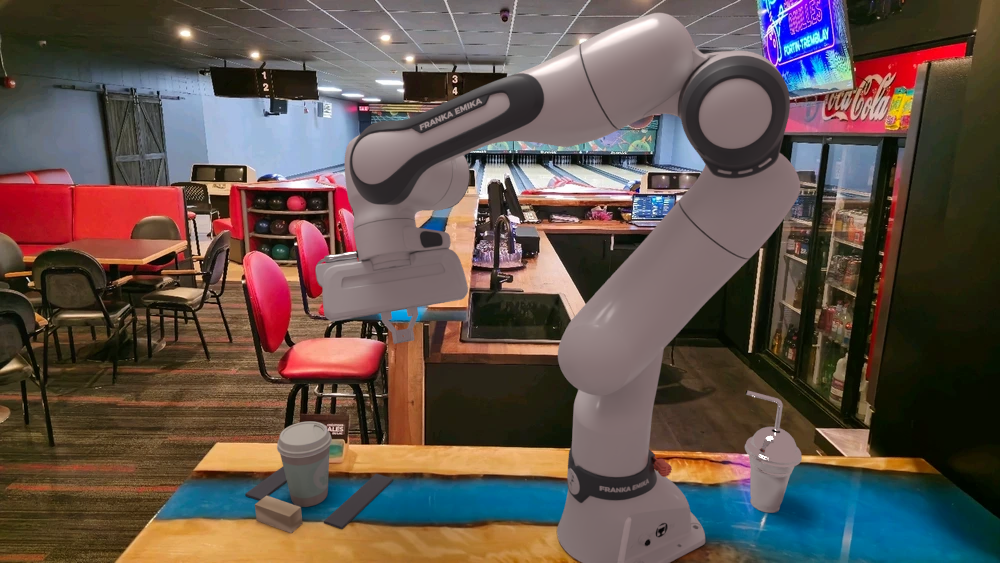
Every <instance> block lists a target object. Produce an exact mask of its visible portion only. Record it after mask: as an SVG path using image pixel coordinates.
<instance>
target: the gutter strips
mask: <svg viewBox="0 0 1000 563" xmlns="http://www.w3.org/2000/svg"><path fill="white" fill-rule="evenodd" d="M393 481H394V478H393V477H388V476H385V475H383V474H378V473H375V474H374V475H373V476H372V477H370V479H369V480H367V481H366V482H365V483H364V484H363V485H362V486H361V487H360V488H359V489H358V490H356V491H355V492H354V493H353V494H351V496H350V497H348V499H347V500H346V501H344V502H343V503H342V504H340V505H339V507H338V508H336V509H335V510H334V511H333V512H332V513H331V514H330V515H329V516H327V517H326V519H324V520H323V523H324V524H326V525H329V526H331V527H335V528H337V529H340V530H343V529H344V528H345V527H346V526H347V525H349V523H350V522H352V520H353V519H355V518H356V517H357V516H358V515H359V514H360V513H361V512H362V511H363V510H364V509H365V508H366V507H367V506H369V504H370V503H372V501H374V499H376V498H377V497H378V496H379V495H380V493H382V492H383V491H385V489H386V488H387V487H388V486H389V485H390V484H391V483H392V482H393ZM286 483H287V479H286V475H285V471H284V467H283V466H281V467H280V468H279V469H277V470H276V471H274V472H273V473H272V474H271V475H269V476H268V477H266V478H265V479H263V480H262V481H261V482H259V483H258V484H257V485H255V486H254V487H252V488H251V489H250V490H248V491H247V492H246V493H245V496H246V497H248V498H251V499H254V500H256V501H258V502H259V501H260V500H261V499H263V498H264V497H265V496H270V495H272V494H273V493H274V492H275V491H277V490H278V489H279V488H281V487H282V486H283V485H285V484H286Z"/></svg>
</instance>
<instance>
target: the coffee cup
mask: <svg viewBox="0 0 1000 563" xmlns="http://www.w3.org/2000/svg"><path fill="white" fill-rule="evenodd" d="M332 442H333V439H332V436H331V432H330V431H329V430H328V427H327V426H326V424H324V423H321V422H318V421H301V422H297V423H294V424H291V425H289V426H287V427H286V428H284V429H283V430H282V431H281V432H280V434H279V439H278V441H277V445H276V450H277V452H278V453H279V454H280V459H281V462H282V467H284V471H285V475H286V479H287V482H286V483H287V487H288V490H289V495H290V499H291V503H292V504H293V505H296V506H299V507H301V508H308V507H312V506H316V505H319V504H320V503H322V502H323V501H325V499H327V497H328V494H329V492H328V491H329V472H330V470H329V469H330V452H331V451H330V450H331V449H330V448H331V444H332Z"/></svg>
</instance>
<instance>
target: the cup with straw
mask: <svg viewBox="0 0 1000 563" xmlns="http://www.w3.org/2000/svg"><path fill="white" fill-rule="evenodd" d="M745 395H747V396H750V397H753V398H757V399H761V400H764V401H768V402H772V403H775V404H777V410H776V417H775V423H774V426H766V427H762V428H760V429H759V430H757V431H756V432H755V433H754V434H753V436H751V437H749V438H747V440H746V442H745V444H744V450H745V452H746V454H747V455H748V457H749V458H748V459H749V465H750V477H749V478H750V480H749V481H750V483H749V484H750V491H749V492H750V493H749V494H750V497H751V498H750V502H749V503H750V504H751V506H752V507H753V508H755V509H756V510H758V511H761V512H763V513H768V514H769V513H772V514H773V513H777V512H779V510H780V509H781V504H782V503H783V500H784V496H785V493H786V490H787V486H788V482H789V480H790V477H791V475H792V473H793V470H794V468H795V467H796V466H798V465H799V464H800V463H802V461H803V460H802V459H803V458H802V452H801V450H800V448H799V447H798V446H797V444H796V442H795V439H794V437H792V435H791V434H790V433H789V432H787V431H786V430H784V429H783V428H781V426H780V425H781V419H782V414H783V413H782V412H783V408H784V407H783V405H784V404H783V402H782V400H781V399H779V398H778V397H774V396H770V395H767V394H766V395H765V394H762V393H758V392H755V391H750V390H746V392H745Z"/></svg>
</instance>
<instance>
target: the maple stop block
mask: <svg viewBox="0 0 1000 563" xmlns="http://www.w3.org/2000/svg"><path fill="white" fill-rule="evenodd" d="M254 507H255V508H254V509H255V516H256V521H257V522H260V523H262V524H265V525H267V526H270V527H273V528H276V529H279V530H281V531H284V532H287V533H289V534H292V533H293V532H294V531H296V530H297V529H298V528H299V527H300V526H301V525H303V516H302V507H301V506H297V505H295V504H294V503H290V502H286V501H284V500H281V499H278V498H275V497H272V496H270V495H269V496H265V497H264V498H263V499H261V500H260V501H259V500H258V502H256V503H255V504H254Z"/></svg>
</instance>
